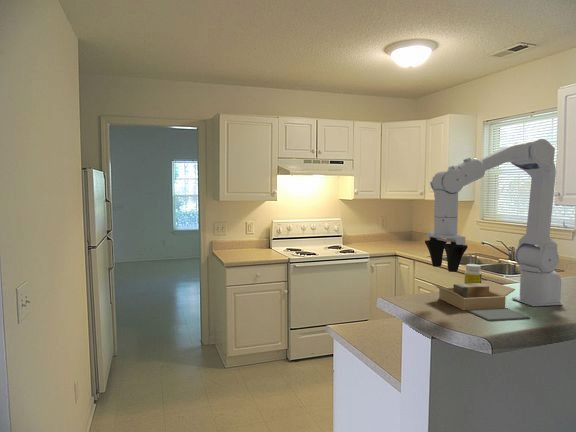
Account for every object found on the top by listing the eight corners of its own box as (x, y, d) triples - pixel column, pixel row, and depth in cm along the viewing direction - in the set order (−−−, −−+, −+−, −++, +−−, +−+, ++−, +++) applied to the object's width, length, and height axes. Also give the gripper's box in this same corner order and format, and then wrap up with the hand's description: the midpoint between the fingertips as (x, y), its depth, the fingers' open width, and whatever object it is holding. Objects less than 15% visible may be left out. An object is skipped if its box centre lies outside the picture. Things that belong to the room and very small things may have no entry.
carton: (486, 296, 120) (486, 279, 119) (515, 307, 108) (516, 289, 108) (429, 299, 116) (429, 281, 116) (452, 310, 105) (453, 291, 105)
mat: (506, 309, 106) (506, 307, 106) (530, 318, 98) (530, 317, 98) (467, 311, 104) (468, 309, 104) (488, 320, 97) (488, 319, 97)
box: (479, 300, 115) (479, 283, 115) (488, 304, 111) (489, 286, 111) (453, 302, 114) (453, 284, 113) (461, 305, 110) (462, 287, 109)
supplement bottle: (482, 295, 122) (483, 266, 121) (465, 294, 123) (466, 266, 122) (478, 291, 126) (479, 264, 126) (462, 290, 127) (463, 263, 127)
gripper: (417, 215, 114) (417, 264, 115) (447, 218, 100) (445, 274, 100) (441, 215, 115) (440, 263, 116) (473, 218, 101) (472, 273, 102)
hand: (444, 268), depth 108 cm, fingers open, 7 cm apart
